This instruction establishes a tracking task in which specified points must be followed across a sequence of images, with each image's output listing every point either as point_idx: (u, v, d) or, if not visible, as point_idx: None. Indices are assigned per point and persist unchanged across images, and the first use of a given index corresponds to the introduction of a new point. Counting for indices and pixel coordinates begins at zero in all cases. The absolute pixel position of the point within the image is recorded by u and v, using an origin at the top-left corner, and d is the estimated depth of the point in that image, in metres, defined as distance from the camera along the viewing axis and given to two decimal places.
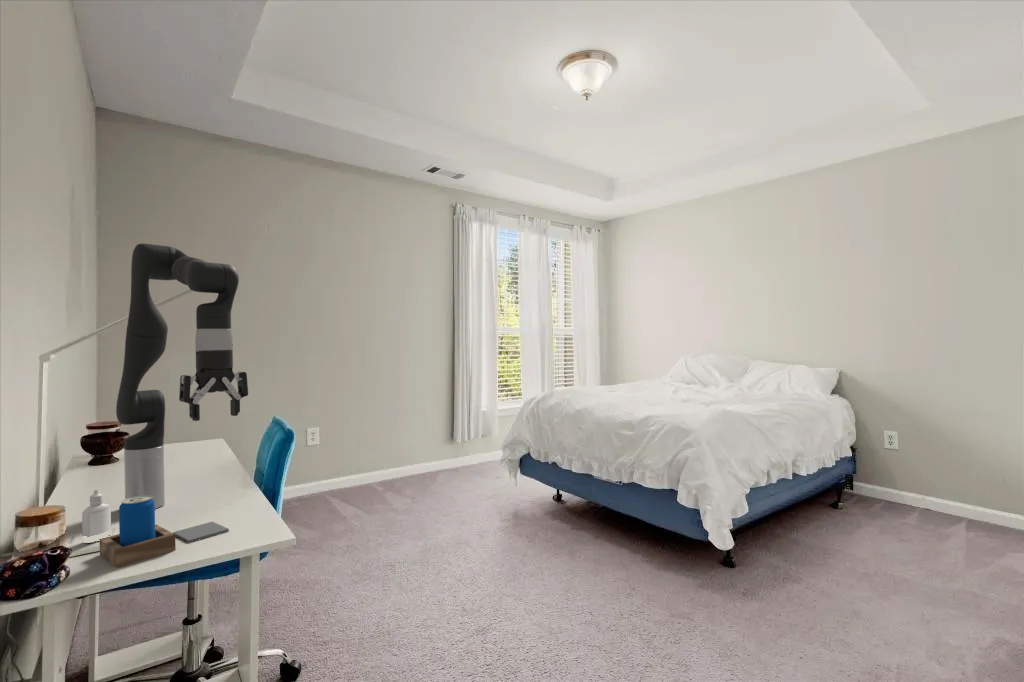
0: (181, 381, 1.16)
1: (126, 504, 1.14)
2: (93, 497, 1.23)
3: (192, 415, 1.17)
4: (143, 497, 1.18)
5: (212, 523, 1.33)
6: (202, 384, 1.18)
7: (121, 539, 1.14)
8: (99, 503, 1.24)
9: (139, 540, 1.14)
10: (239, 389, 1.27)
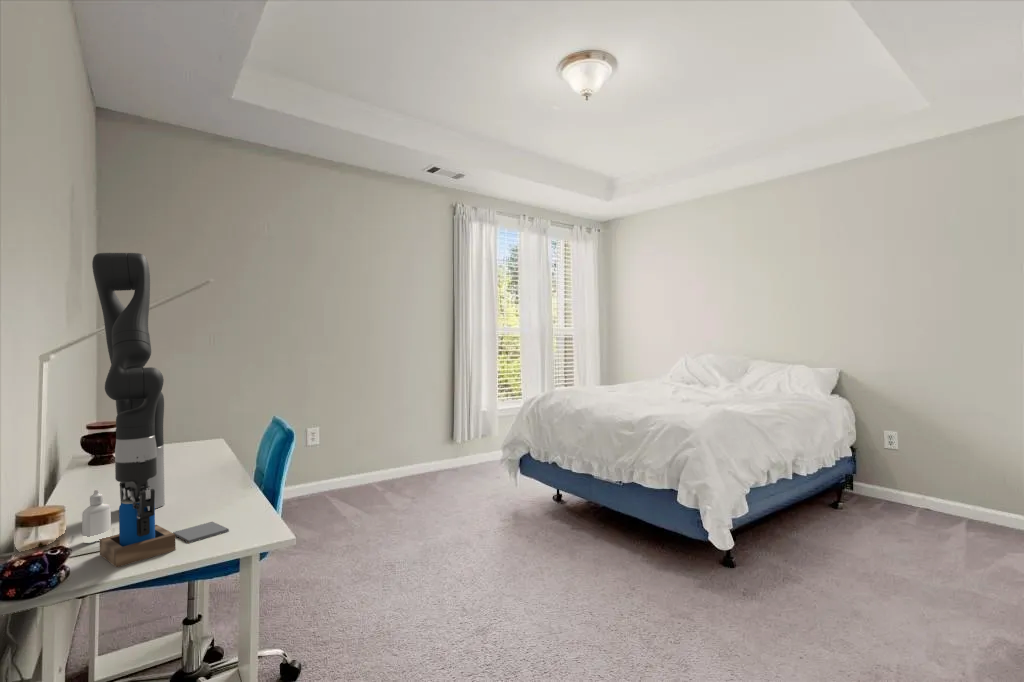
0: (145, 497, 1.12)
1: (126, 504, 1.14)
2: (93, 497, 1.23)
3: (147, 529, 1.14)
4: None
5: (212, 523, 1.33)
6: None
7: (121, 539, 1.14)
8: (99, 503, 1.24)
9: (139, 540, 1.14)
10: None
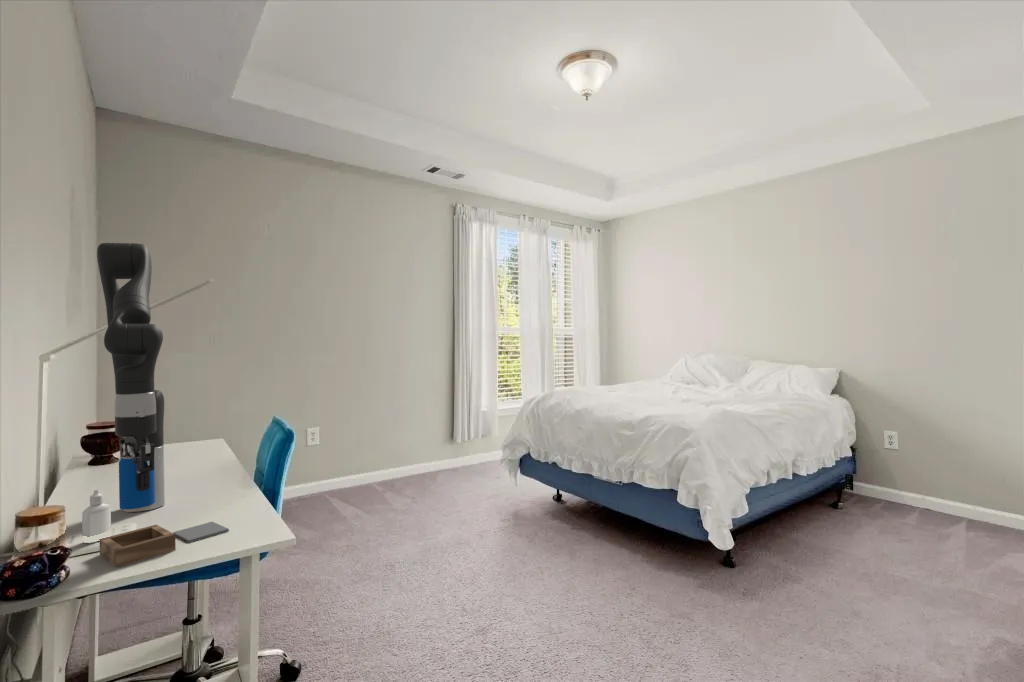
0: (145, 451, 1.12)
1: (126, 459, 1.14)
2: (93, 497, 1.23)
3: (147, 484, 1.14)
4: None
5: (212, 523, 1.33)
6: None
7: (121, 494, 1.14)
8: (99, 503, 1.24)
9: (139, 495, 1.14)
10: None
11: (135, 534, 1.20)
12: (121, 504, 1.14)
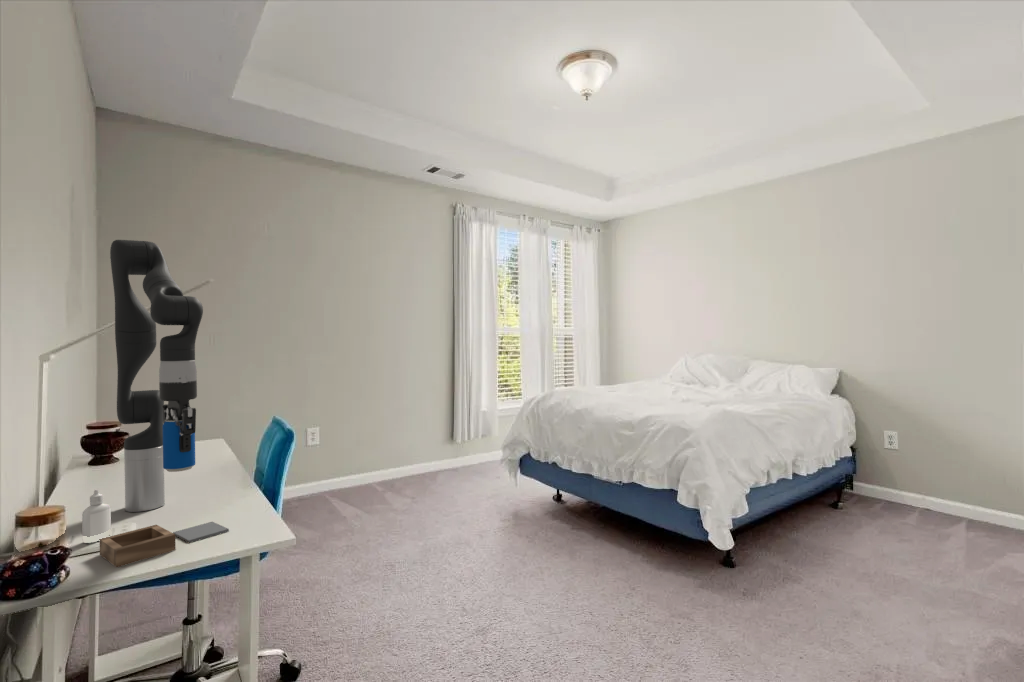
0: (187, 415, 1.20)
1: (169, 422, 1.21)
2: (93, 497, 1.23)
3: (189, 446, 1.22)
4: None
5: (212, 523, 1.33)
6: None
7: (164, 455, 1.21)
8: (99, 503, 1.24)
9: (181, 456, 1.22)
10: None
11: (135, 534, 1.20)
12: (165, 464, 1.21)
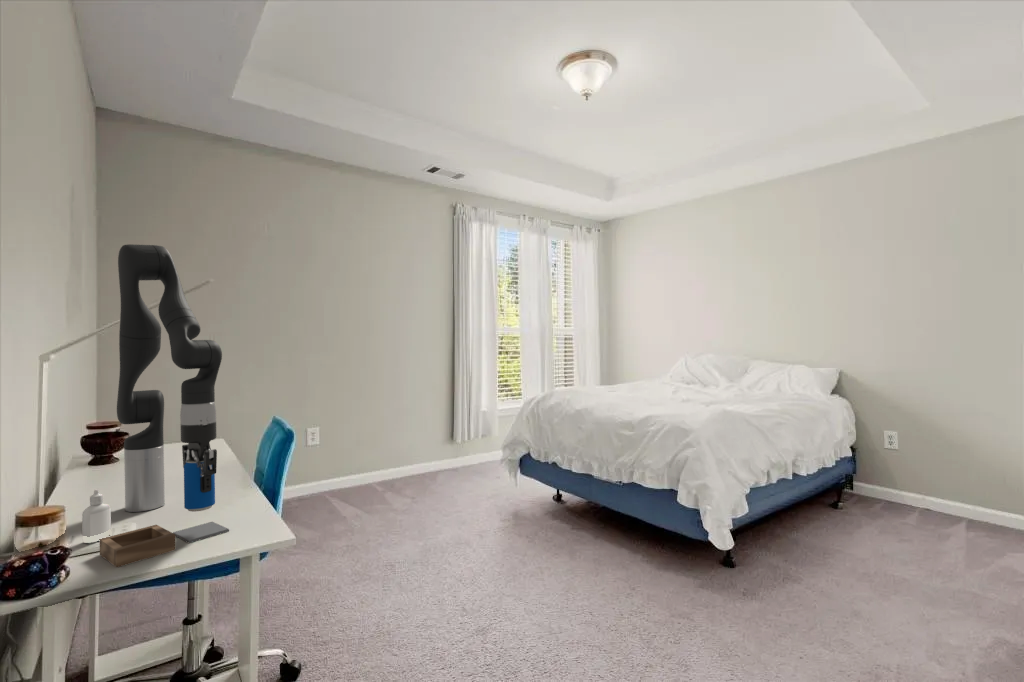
0: (209, 456, 1.23)
1: (190, 463, 1.25)
2: (93, 497, 1.23)
3: (210, 486, 1.26)
4: None
5: (212, 523, 1.33)
6: None
7: (186, 495, 1.25)
8: (99, 503, 1.24)
9: (202, 496, 1.25)
10: None
11: (135, 534, 1.20)
12: (186, 504, 1.25)
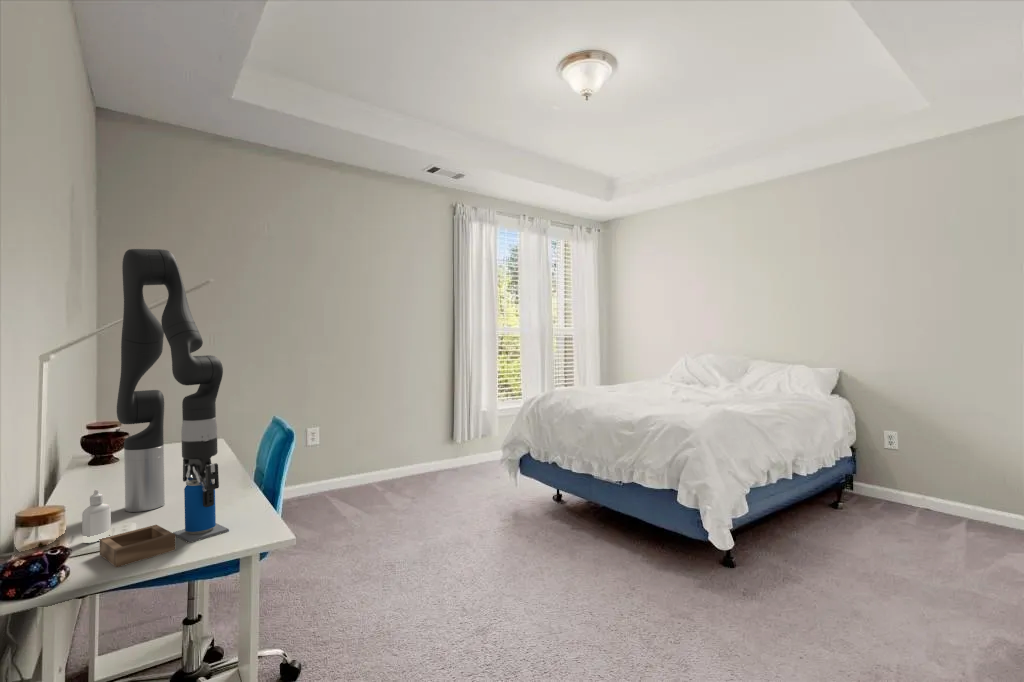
0: (210, 470, 1.23)
1: (191, 486, 1.25)
2: (93, 497, 1.23)
3: (212, 500, 1.25)
4: None
5: None
6: None
7: (187, 518, 1.25)
8: (99, 503, 1.24)
9: (203, 519, 1.25)
10: (186, 475, 1.31)
11: (135, 534, 1.20)
12: (187, 527, 1.25)
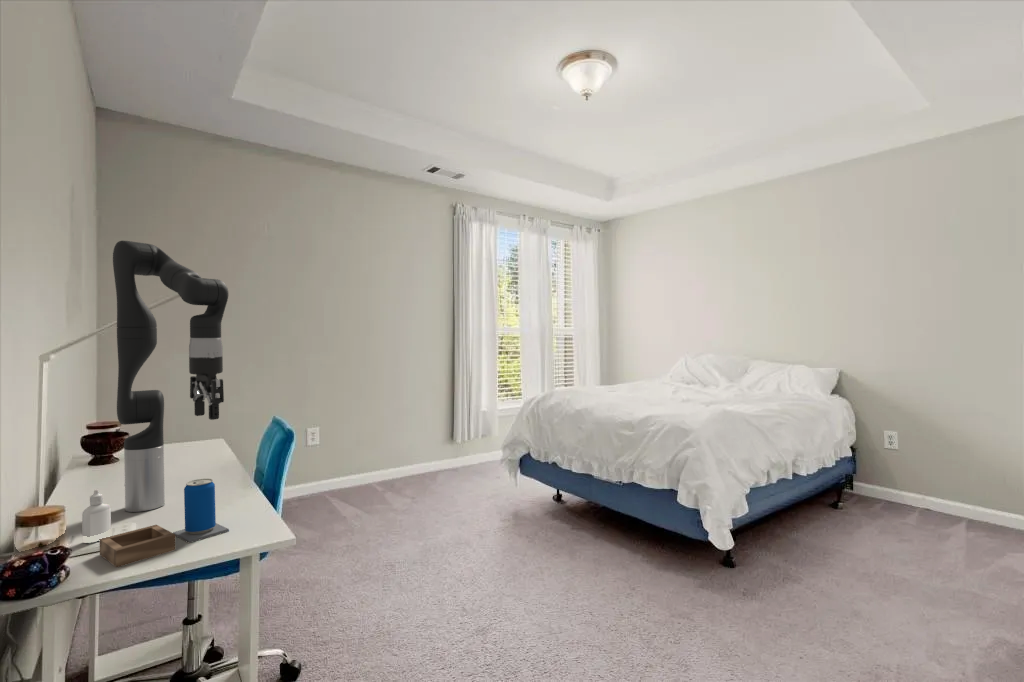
0: (216, 385, 1.31)
1: (191, 486, 1.25)
2: (93, 497, 1.23)
3: (217, 414, 1.33)
4: (204, 480, 1.30)
5: None
6: None
7: (186, 518, 1.25)
8: (99, 503, 1.24)
9: (203, 519, 1.25)
10: (193, 392, 1.39)
11: (135, 534, 1.20)
12: (187, 527, 1.25)
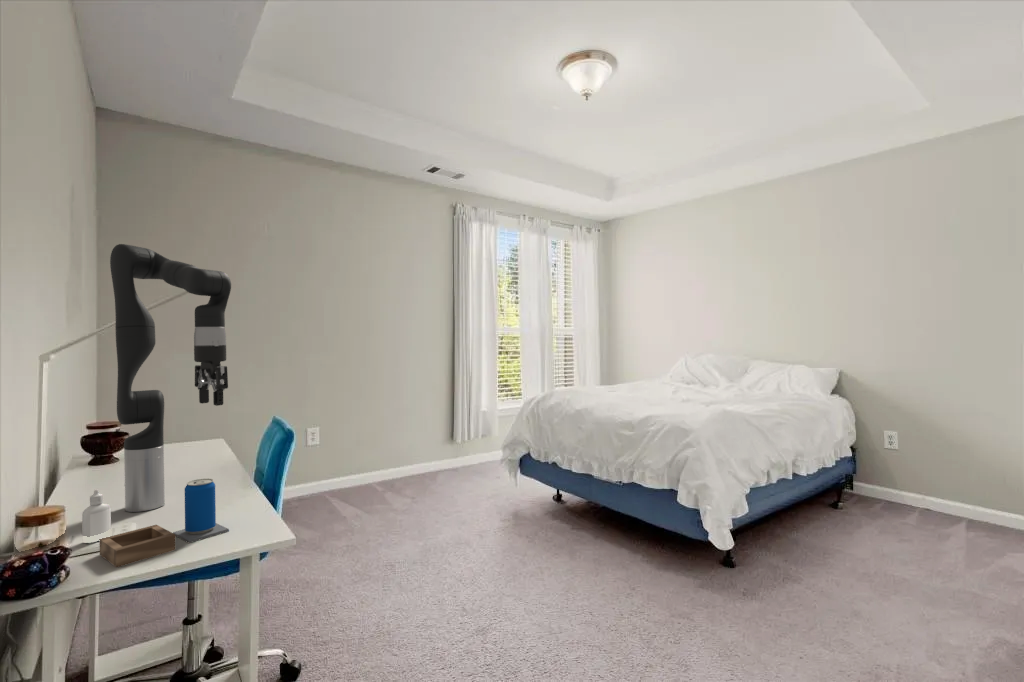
0: (220, 371, 1.36)
1: (191, 486, 1.25)
2: (93, 497, 1.23)
3: (222, 400, 1.38)
4: (205, 480, 1.30)
5: None
6: None
7: (187, 517, 1.25)
8: (99, 503, 1.24)
9: (203, 519, 1.25)
10: (197, 381, 1.43)
11: (135, 534, 1.20)
12: (187, 527, 1.25)
